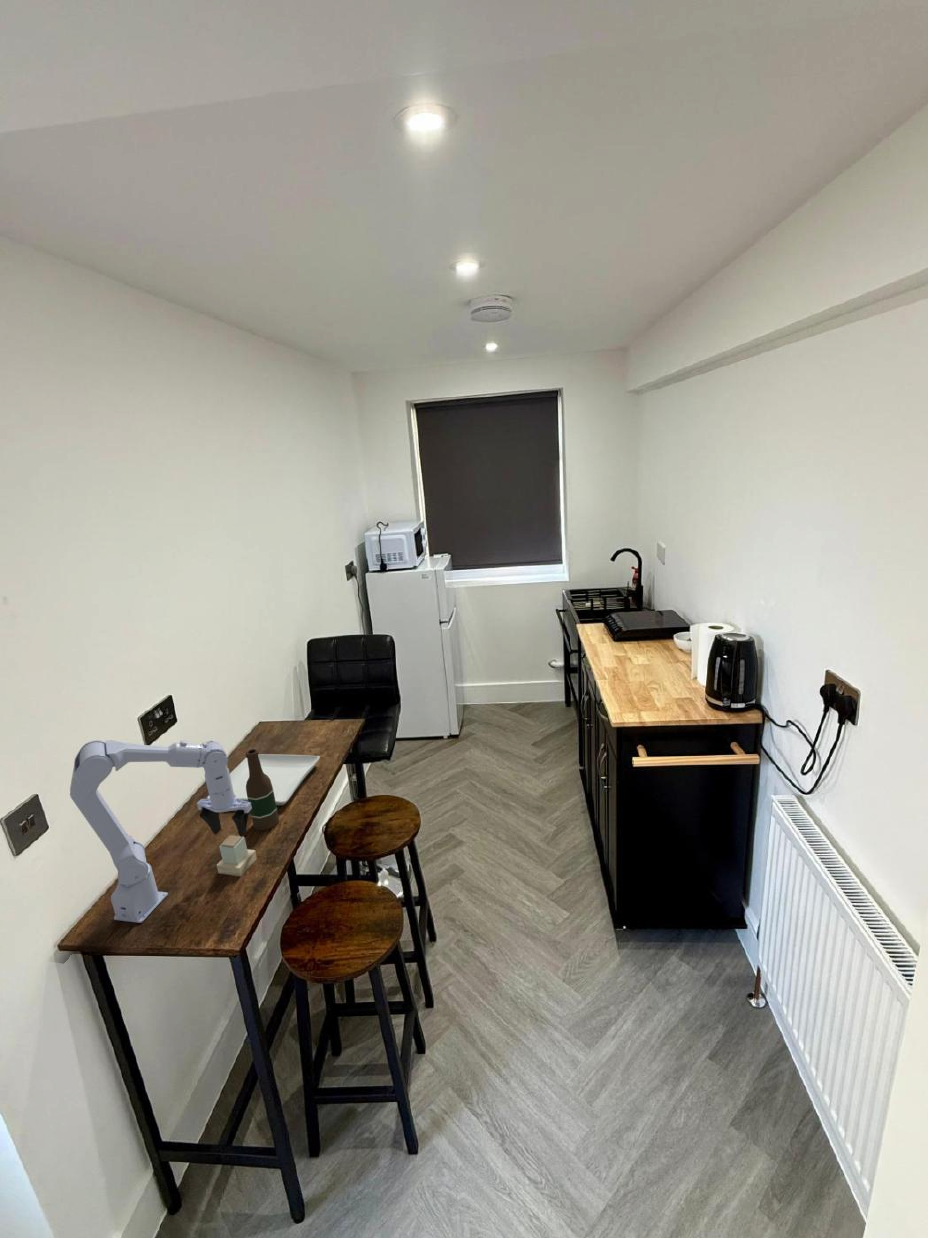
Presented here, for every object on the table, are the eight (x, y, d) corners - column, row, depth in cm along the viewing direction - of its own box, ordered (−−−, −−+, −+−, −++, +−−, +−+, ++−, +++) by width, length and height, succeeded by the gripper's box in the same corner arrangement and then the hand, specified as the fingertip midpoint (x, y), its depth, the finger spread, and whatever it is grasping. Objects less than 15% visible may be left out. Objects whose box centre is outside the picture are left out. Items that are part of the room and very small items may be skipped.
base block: (241, 878, 153) (239, 868, 152) (218, 874, 155) (216, 865, 154) (257, 859, 159) (255, 850, 158) (235, 856, 161) (233, 847, 160)
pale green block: (238, 864, 153) (233, 846, 152) (223, 862, 155) (218, 845, 153) (248, 852, 158) (244, 835, 156) (233, 851, 159) (229, 834, 157)
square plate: (207, 808, 185) (204, 797, 184) (251, 762, 210) (249, 752, 209) (286, 811, 180) (284, 800, 179) (322, 764, 205) (320, 754, 204)
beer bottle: (282, 814, 178) (269, 743, 171) (276, 830, 170) (261, 757, 164) (257, 816, 178) (242, 745, 171) (249, 832, 170) (233, 759, 163)
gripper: (254, 780, 152) (263, 825, 156) (205, 777, 155) (215, 821, 159) (238, 796, 146) (248, 842, 149) (187, 793, 149) (198, 838, 153)
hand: (230, 833), depth 154 cm, fingers open, 7 cm apart
